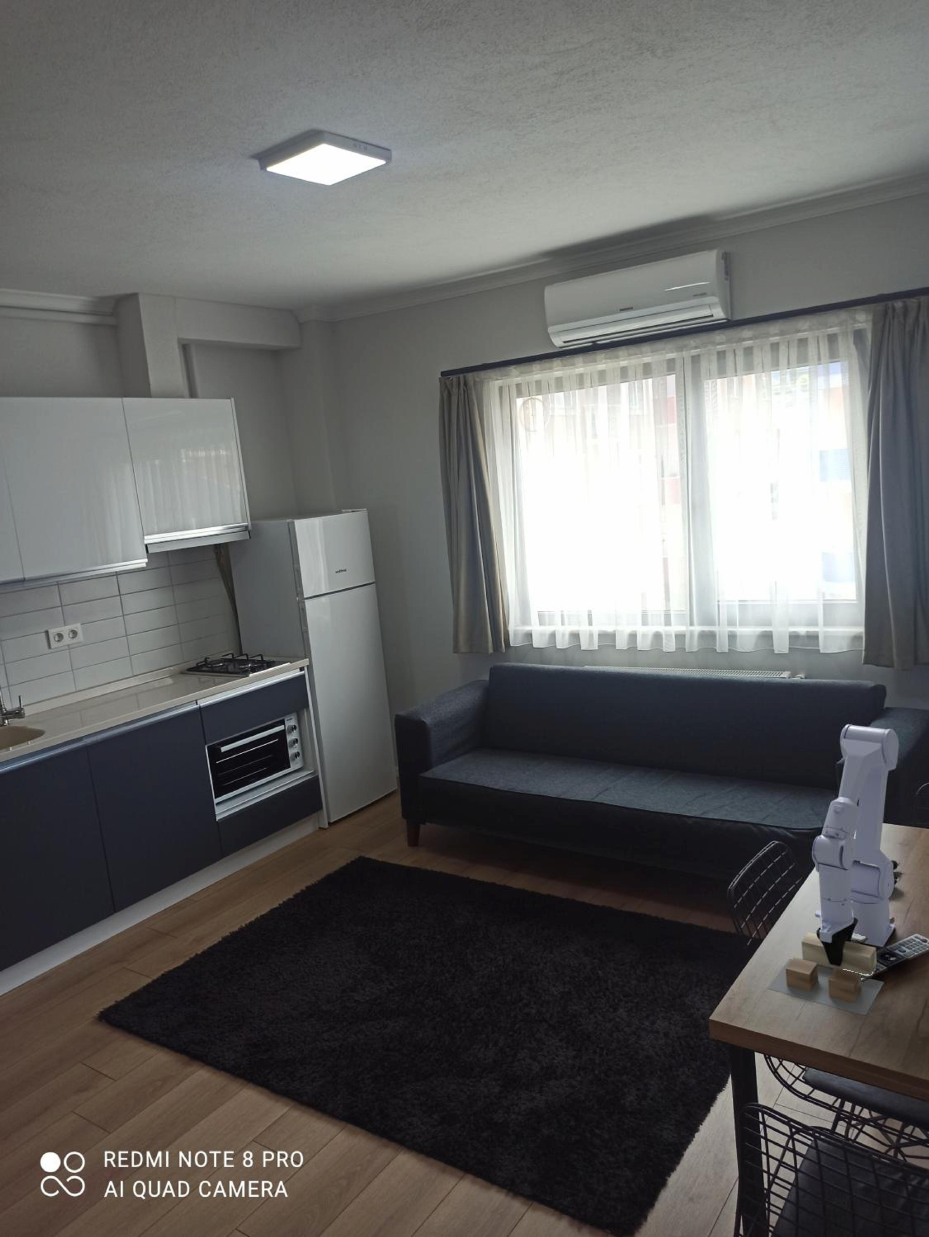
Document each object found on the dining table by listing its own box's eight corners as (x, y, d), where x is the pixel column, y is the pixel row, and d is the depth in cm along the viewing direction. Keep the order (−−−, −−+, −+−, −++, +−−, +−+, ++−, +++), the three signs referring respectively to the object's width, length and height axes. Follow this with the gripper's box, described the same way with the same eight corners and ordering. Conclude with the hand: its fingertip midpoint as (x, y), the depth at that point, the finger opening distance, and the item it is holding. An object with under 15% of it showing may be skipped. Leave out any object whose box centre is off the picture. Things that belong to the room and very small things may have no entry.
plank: (809, 952, 188) (808, 932, 187) (876, 968, 180) (875, 947, 179) (802, 962, 185) (801, 941, 184) (870, 979, 176) (869, 957, 176)
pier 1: (794, 973, 181) (793, 957, 180) (818, 979, 178) (817, 962, 177) (786, 985, 177) (785, 968, 177) (810, 991, 174) (809, 974, 174)
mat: (789, 960, 186) (789, 958, 186) (884, 983, 175) (883, 982, 174) (767, 989, 177) (767, 988, 177) (865, 1016, 165) (865, 1015, 165)
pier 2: (836, 984, 175) (835, 967, 175) (861, 990, 173) (860, 973, 172) (829, 996, 172) (828, 979, 172) (854, 1003, 169) (853, 985, 169)
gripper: (826, 875, 188) (830, 937, 190) (802, 906, 177) (806, 971, 179) (862, 882, 183) (865, 945, 185) (840, 914, 172) (843, 980, 174)
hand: (839, 958), depth 182 cm, fingers closed on plank, 4 cm apart
